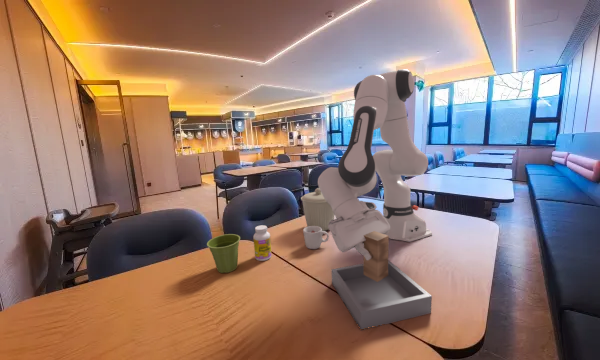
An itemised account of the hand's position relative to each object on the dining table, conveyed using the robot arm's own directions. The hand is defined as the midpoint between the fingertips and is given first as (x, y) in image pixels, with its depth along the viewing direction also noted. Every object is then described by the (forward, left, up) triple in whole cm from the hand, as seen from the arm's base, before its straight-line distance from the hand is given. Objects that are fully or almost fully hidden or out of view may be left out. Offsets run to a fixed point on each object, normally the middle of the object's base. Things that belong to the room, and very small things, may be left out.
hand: (377, 255), depth 68 cm
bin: (0, -1, -13) cm, 13 cm away
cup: (+7, -38, -14) cm, 41 cm away
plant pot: (+44, -32, -14) cm, 56 cm away
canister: (-1, -58, -14) cm, 59 cm away
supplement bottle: (+30, -36, -14) cm, 49 cm away
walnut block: (0, -1, -6) cm, 6 cm away
